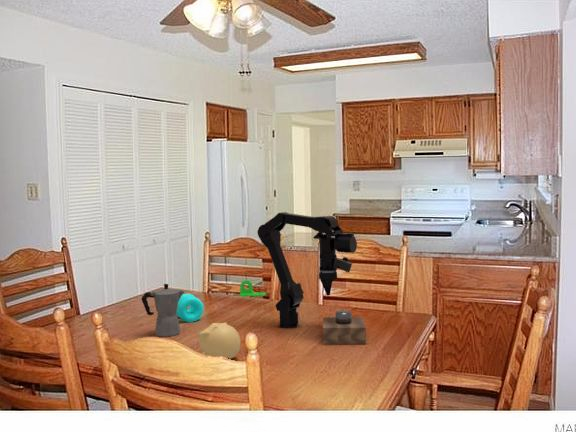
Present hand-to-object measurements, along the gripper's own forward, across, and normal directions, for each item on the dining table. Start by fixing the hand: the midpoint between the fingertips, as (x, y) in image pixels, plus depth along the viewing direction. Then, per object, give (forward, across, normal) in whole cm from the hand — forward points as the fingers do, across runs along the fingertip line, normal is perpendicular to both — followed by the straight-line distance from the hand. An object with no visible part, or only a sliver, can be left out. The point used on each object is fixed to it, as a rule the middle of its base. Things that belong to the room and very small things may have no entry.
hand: (328, 295), depth 196 cm
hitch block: (+13, -9, -5) cm, 17 cm away
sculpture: (+13, -30, +33) cm, 47 cm away
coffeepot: (+13, -2, +59) cm, 61 cm away
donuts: (+13, +17, +55) cm, 59 cm away
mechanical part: (+13, +60, +35) cm, 71 cm away
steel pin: (+12, -9, -5) cm, 16 cm away
